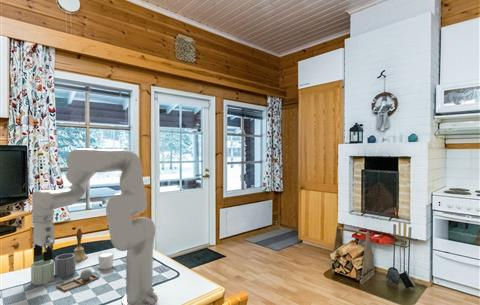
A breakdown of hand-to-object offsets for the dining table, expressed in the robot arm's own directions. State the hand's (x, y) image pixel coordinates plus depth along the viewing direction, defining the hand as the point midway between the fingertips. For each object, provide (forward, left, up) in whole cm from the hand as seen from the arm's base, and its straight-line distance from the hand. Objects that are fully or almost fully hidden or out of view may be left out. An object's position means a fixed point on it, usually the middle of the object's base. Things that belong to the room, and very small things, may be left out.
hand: (42, 257), depth 120 cm
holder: (-15, -7, -11) cm, 20 cm away
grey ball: (-15, -11, -10) cm, 21 cm away
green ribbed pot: (0, 0, -11) cm, 11 cm away
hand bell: (+15, -22, -11) cm, 29 cm away
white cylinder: (-9, -23, -11) cm, 27 cm away
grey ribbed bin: (0, -9, -11) cm, 14 cm away
